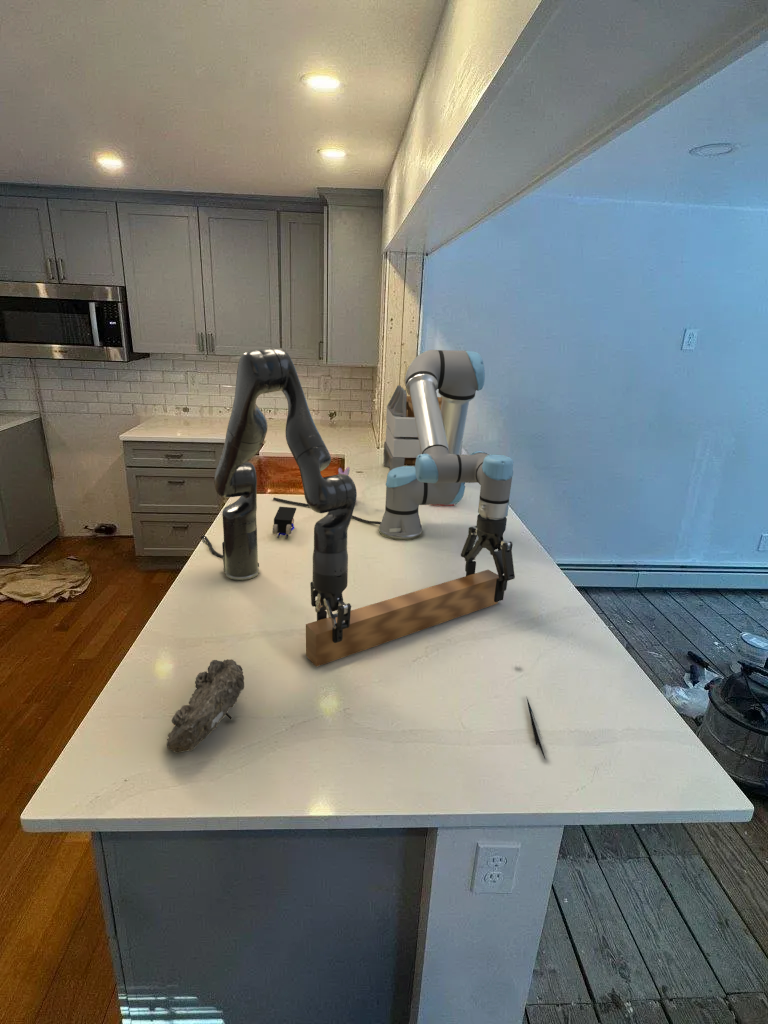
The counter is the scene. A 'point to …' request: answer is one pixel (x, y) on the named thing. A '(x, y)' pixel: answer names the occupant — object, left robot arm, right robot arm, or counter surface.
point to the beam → (401, 616)
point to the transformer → (401, 431)
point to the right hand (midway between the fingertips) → (483, 591)
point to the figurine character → (284, 521)
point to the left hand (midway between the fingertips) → (329, 633)
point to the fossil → (206, 705)
